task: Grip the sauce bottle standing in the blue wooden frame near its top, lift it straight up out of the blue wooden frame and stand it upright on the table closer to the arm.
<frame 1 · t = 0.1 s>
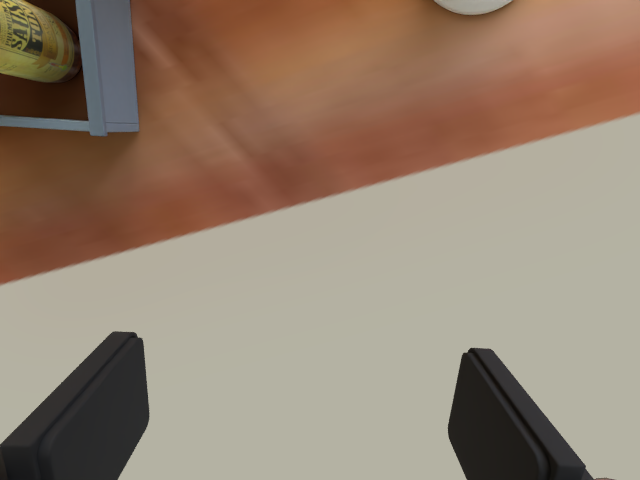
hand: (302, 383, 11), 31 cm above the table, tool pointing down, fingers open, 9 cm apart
sauce bottle: (54, 49, 36), resting in blue wooden frame
blue wooden frame: (53, 48, 36), on the table
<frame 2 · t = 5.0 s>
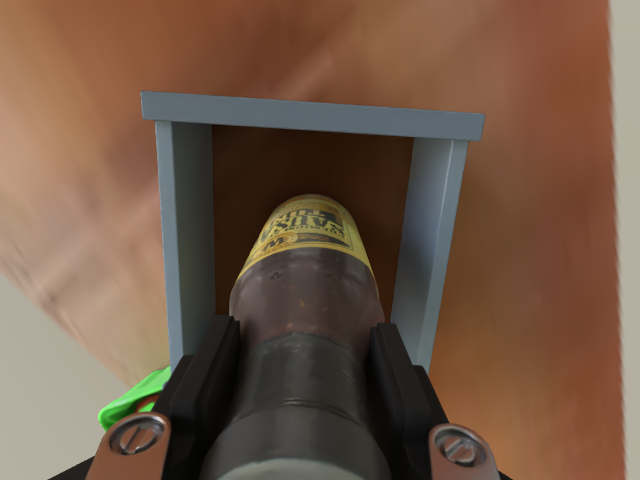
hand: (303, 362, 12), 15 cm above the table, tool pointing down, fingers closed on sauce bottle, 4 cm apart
sauce bottle: (308, 234, 26), resting in blue wooden frame, touching gripper
blue wooden frame: (308, 234, 26), on the table
fruit basket: (201, 405, 30), on the table
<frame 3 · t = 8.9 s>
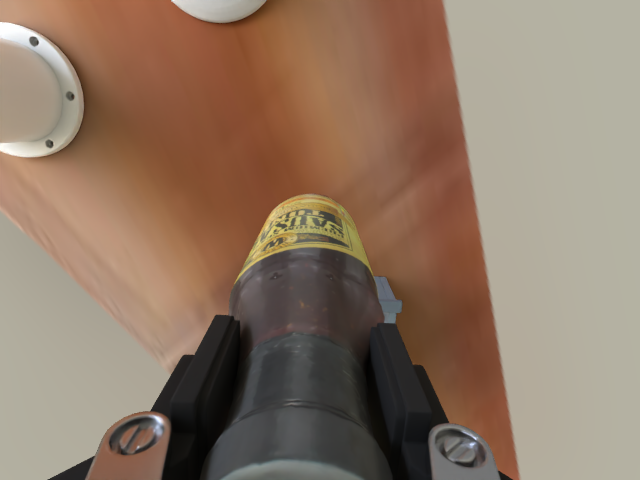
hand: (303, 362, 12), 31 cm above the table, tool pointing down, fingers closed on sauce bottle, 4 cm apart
sauce bottle: (307, 234, 26), point 16 cm above the table, touching gripper
blue wooden frame: (320, 332, 46), on the table
when the fingers open (15 cm above the table, at t = 13.0 s): sauce bottle stays where it is, on the table.
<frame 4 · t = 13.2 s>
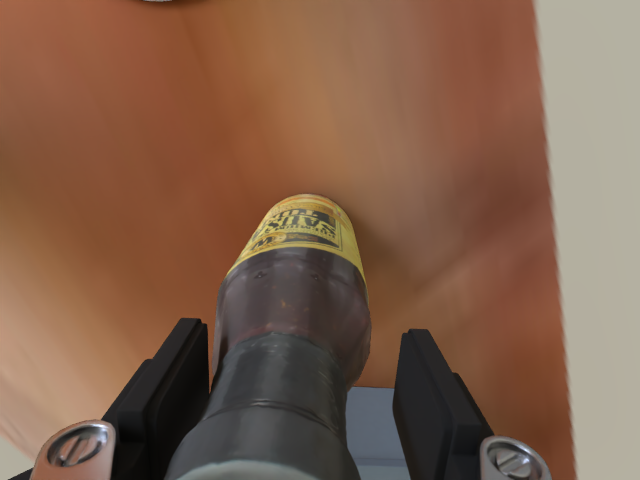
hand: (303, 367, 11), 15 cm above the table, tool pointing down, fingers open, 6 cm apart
sauce bottle: (305, 234, 26), on the table
blue wooden frame: (320, 462, 31), on the table
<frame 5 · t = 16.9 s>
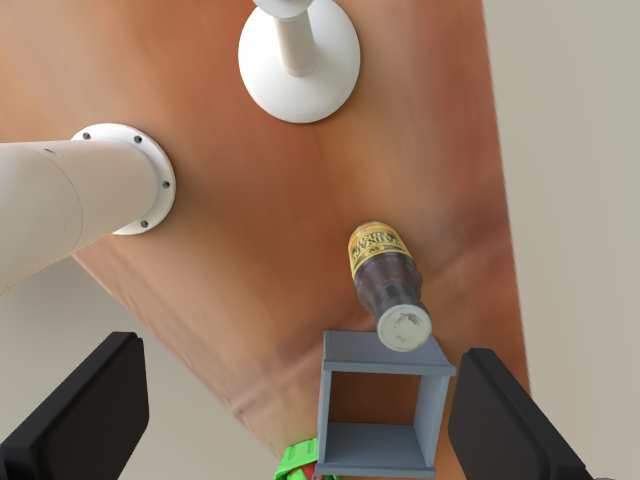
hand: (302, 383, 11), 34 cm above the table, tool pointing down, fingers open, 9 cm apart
sauce bottle: (370, 243, 46), on the table
blue wooden frame: (373, 382, 51), on the table
candlestick: (299, 60, 40), on the table
fruit basket: (310, 463, 56), on the table
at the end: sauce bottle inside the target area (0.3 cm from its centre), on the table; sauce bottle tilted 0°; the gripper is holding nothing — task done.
